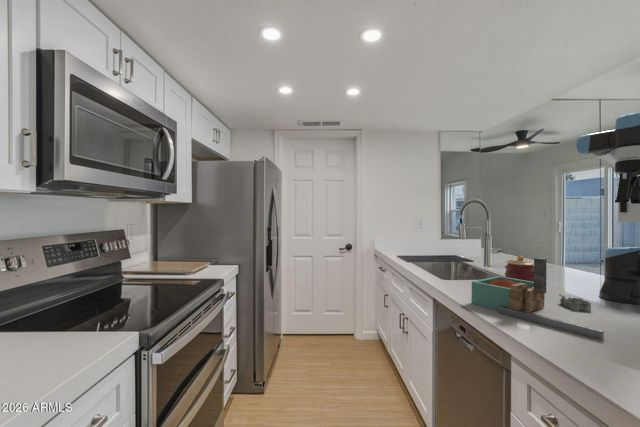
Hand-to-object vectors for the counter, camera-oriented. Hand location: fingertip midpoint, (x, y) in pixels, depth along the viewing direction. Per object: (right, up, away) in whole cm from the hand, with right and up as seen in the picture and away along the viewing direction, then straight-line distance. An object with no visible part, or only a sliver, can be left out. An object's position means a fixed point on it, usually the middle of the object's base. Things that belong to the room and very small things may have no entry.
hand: (629, 222), depth 105 cm
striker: (-26, -34, +11) cm, 44 cm away
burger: (-29, -35, +22) cm, 50 cm away
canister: (-11, -35, +41) cm, 55 cm away
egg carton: (-3, -35, +19) cm, 40 cm away
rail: (-30, -34, -1) cm, 46 cm away
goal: (-29, -34, +22) cm, 50 cm away
